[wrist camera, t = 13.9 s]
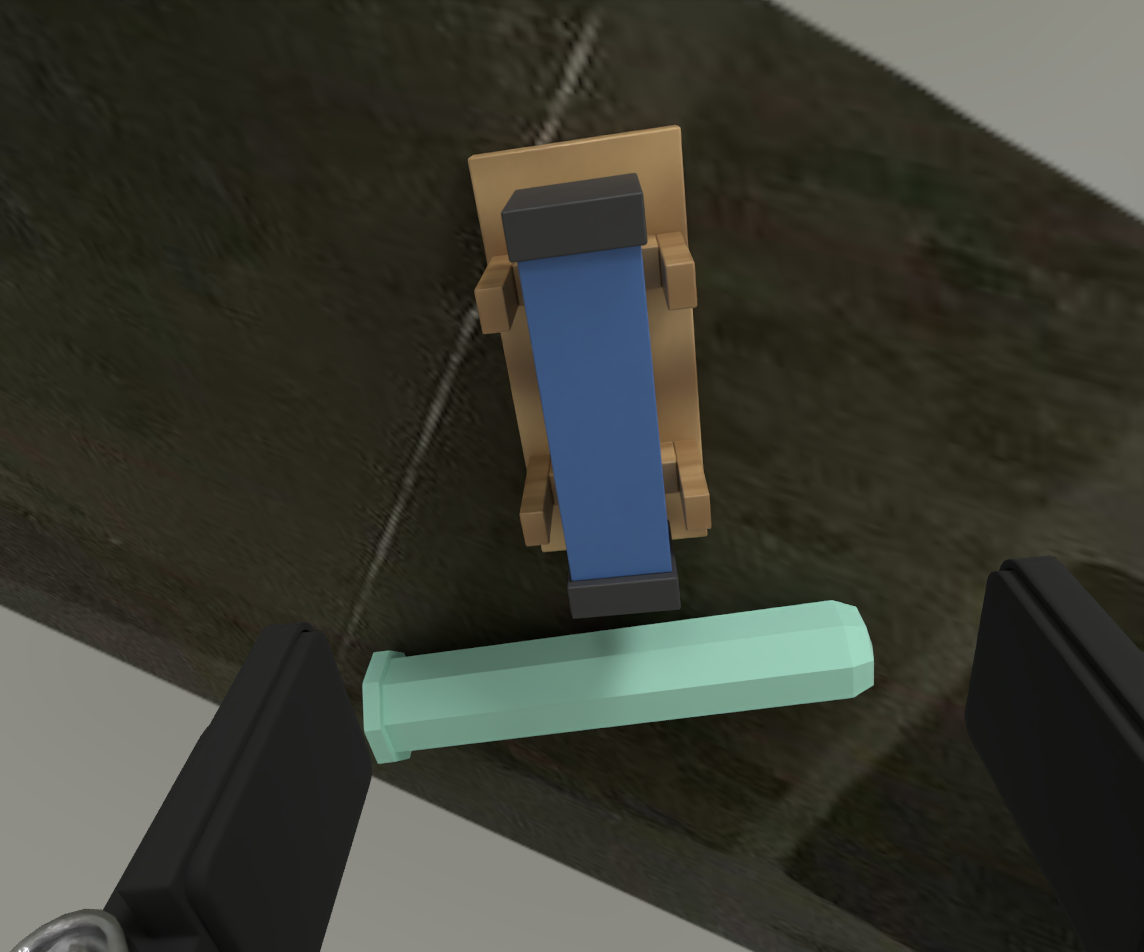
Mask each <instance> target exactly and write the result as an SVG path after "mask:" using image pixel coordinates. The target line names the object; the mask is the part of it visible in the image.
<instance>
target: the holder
mask: <svg viewBox="0 0 1144 952" xmlns="http://www.w3.org/2000/svg"><path fill="white" fill-rule="evenodd" d="M468 165H469V170H470V176H471V181H472V186H473V191H474V197H475V202H476V207H477V212H478V218H479V223H480V228H481V233H482V239H483V244H484V249H485V254H486V260H487V265H488V266H487V268H486V270H485V271H484V273H483V275H482V277H481V279H480V281H479V283H478V284H477V286H476V288H475V290H474V293H475V298H476V303H477V308H478V313H479V318H480V323H481V328H482V333H483V334H492V333H501V338H502V344H503V349H504V354H505V359H506V365H507V370H508V375H509V380H510V386H511V391H512V396H513V401H514V407H515V412H516V417H517V422H518V428H519V433H520V438H521V443H522V449H523V454H524V459H525V464H526V470H527V475H526V480H525V486H524V492H523V497H522V503H521V509H520V514H519V515H520V520H521V525H522V530H523V535H524V540H525V545H526V546H537V545H541V548H542V551H543V552H550V551H560V550H566V544H565V538H564V532H563V526H562V521H561V515H560V509H559V503H558V497H557V492H556V486H555V480H554V474H553V468H552V462H551V457H550V451H549V445H548V439H547V433H546V427H545V422H544V416H543V410H542V404H541V398H540V392H539V387H538V381H537V375H536V369H535V363H534V357H533V352H532V346H531V340H530V334H529V328H528V323H527V317H526V311H525V305H524V299H523V293H522V288H521V282H520V276H519V270H518V264H517V262H515V263H511V262H510V261H509V258H508V252H507V247H506V241H505V235H504V230H503V224H502V218H501V212H502V210H503V208H504V207H505V205H506V204H507V202H508V200H509V199H510V197H511V196H512V194H513V193H514V191H515V190H518V189H525V188H532V187H539V186H546V185H553V184H560V183H567V182H574V181H580V180H587V179H594V178H601V177H608V176H615V175H622V174H629V173H637V175H638V178H639V181H640V185H641V188H642V191H643V195H644V206H645V218H646V229H647V240H648V242H647V244H646V245H642V246H641V248H642V259H643V269H644V280H645V291H646V301H647V312H648V322H649V333H650V343H651V354H652V365H653V375H654V386H655V396H656V407H657V418H658V428H659V439H660V449H661V460H662V470H663V481H664V492H665V502H666V513H667V519H668V520H669V521H670V527H671V534H672V540H673V539H683V538H693V537H704V536H707V529H710V528H711V513H710V497H709V491H708V487H707V483H706V479H705V475H704V471H703V460H702V445H701V430H700V415H699V399H698V384H697V369H696V354H695V339H694V324H693V309H692V308H695V307H697V291H696V275H695V263H694V260H693V258H692V256H691V254H690V252H689V248H688V233H687V218H686V203H685V188H684V173H683V158H682V143H681V129H680V127H679V126H678V125H671V126H665V127H658V128H651V129H644V130H638V131H631V132H624V133H618V134H611V135H604V136H598V137H591V138H584V139H577V140H571V141H564V142H557V143H551V144H544V145H537V146H530V147H524V148H517V149H510V150H504V151H497V152H490V153H483V154H477V155H472V156H471V157H469V158H468Z"/></svg>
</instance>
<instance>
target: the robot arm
mask: <svg viewBox="0 0 1144 952" xmlns="http://www.w3.org/2000/svg"><path fill="white" fill-rule="evenodd" d="M965 721H966V726H967V730H968V734H969V736H970V738H971V741H972V743H973V744H974V746H975V748H976V750H977V752H978V754H979V755H980V757H981V759H982V761H983V763H984V765H985V767H986V768H987V770H988V772H989V774H990V776H991V778H992V779H993V781H994V783H995V785H996V787H997V789H998V791H999V792H1000V794H1001V796H1002V798H1003V800H1004V802H1005V804H1006V805H1007V807H1008V809H1009V811H1010V813H1011V815H1012V816H1013V818H1014V820H1015V822H1016V824H1017V826H1018V828H1019V829H1020V831H1021V833H1022V835H1023V837H1024V839H1025V840H1026V842H1027V844H1028V846H1029V848H1030V850H1031V852H1032V853H1033V855H1034V857H1035V859H1036V861H1037V863H1038V864H1039V866H1040V868H1041V870H1042V872H1043V874H1044V876H1045V877H1046V879H1047V881H1048V883H1049V885H1050V887H1051V888H1052V890H1053V892H1054V894H1055V896H1056V898H1057V900H1058V901H1059V903H1060V905H1061V907H1062V909H1063V911H1064V912H1065V914H1066V916H1067V918H1068V920H1069V922H1070V924H1071V925H1072V927H1073V929H1074V931H1075V933H1076V935H1077V937H1078V938H1079V940H1080V942H1081V944H1082V946H1083V948H1084V949H1085V951H1086V952H1144V653H1143V652H1141V651H1140V650H1139V649H1138V648H1137V646H1136V645H1135V644H1134V643H1133V642H1132V641H1131V640H1130V639H1129V638H1128V636H1127V635H1126V634H1125V633H1124V632H1123V631H1122V630H1121V629H1120V628H1119V626H1118V625H1117V624H1116V623H1115V622H1114V621H1113V620H1112V619H1111V618H1110V616H1109V615H1108V614H1107V613H1106V612H1105V611H1104V610H1103V609H1102V607H1101V606H1100V605H1099V604H1098V603H1097V602H1096V601H1095V600H1094V599H1093V597H1092V596H1091V595H1090V594H1089V593H1088V592H1087V591H1086V590H1085V589H1084V587H1083V586H1082V585H1081V584H1080V583H1079V582H1078V581H1077V580H1076V578H1075V577H1074V576H1073V575H1072V574H1071V573H1070V572H1069V571H1068V570H1067V568H1066V567H1065V566H1064V565H1063V564H1062V563H1061V562H1060V561H1059V560H1058V559H1056V558H1055V557H1052V556H1042V557H1031V558H1020V559H1009V560H1006V561H1004V562H1003V563H1002V565H1001V567H1000V570H999V571H995V572H991V573H990V575H989V576H988V580H987V585H986V591H985V597H984V603H983V609H982V615H981V620H980V626H979V632H978V638H977V644H976V650H975V656H974V662H973V668H972V674H971V680H970V686H969V692H968V697H967V703H966V709H965ZM371 776H372V761H371V756H370V753H369V750H368V748H367V745H366V742H365V740H364V737H363V734H362V732H361V729H360V726H359V724H358V721H357V718H356V716H355V713H354V710H353V708H352V705H351V702H350V700H349V697H348V694H347V692H346V689H345V686H344V684H343V681H342V678H341V676H340V673H339V670H338V668H337V665H336V662H335V660H334V657H333V654H332V652H331V649H330V646H329V644H328V641H327V638H326V636H325V634H324V633H323V632H322V631H314V629H313V627H312V626H311V625H310V624H309V623H306V622H300V623H289V624H278V625H269V626H267V627H265V628H264V629H263V631H262V632H261V634H260V635H259V637H258V639H257V641H256V643H255V644H254V646H253V648H252V650H251V651H250V653H249V655H248V657H247V659H246V660H245V662H244V664H243V666H242V668H241V669H240V671H239V673H238V675H237V677H236V678H235V680H234V682H233V684H232V686H231V687H230V689H229V691H228V693H227V695H226V696H225V698H224V700H223V702H222V704H221V705H220V707H219V709H218V711H217V712H216V714H215V716H214V718H213V720H212V721H211V723H210V725H209V726H208V727H207V728H206V730H205V731H204V732H203V734H202V735H201V736H200V738H199V740H198V742H197V743H196V745H195V747H194V749H193V751H192V752H191V754H190V756H189V758H188V759H187V761H186V763H185V765H184V767H183V768H182V770H181V772H180V774H179V775H178V777H177V779H176V781H175V783H174V784H173V786H172V788H171V790H170V792H169V793H168V795H167V797H166V799H165V801H164V802H163V804H162V806H161V808H160V809H159V811H158V813H157V815H156V816H155V818H154V820H153V822H152V824H151V825H150V827H149V829H148V831H147V833H146V834H145V836H144V838H143V840H142V842H141V843H140V845H139V847H138V849H137V850H136V852H135V854H134V856H133V857H132V859H131V861H130V863H129V865H128V867H127V868H126V870H125V872H124V874H123V875H122V877H121V879H120V881H119V882H118V884H117V886H116V888H115V889H114V891H113V893H112V895H111V897H110V898H109V900H108V902H107V904H106V906H105V907H104V909H103V910H99V909H83V910H79V911H75V912H71V913H68V914H64V915H62V916H60V917H58V918H56V919H54V920H52V921H50V922H48V923H46V924H44V925H42V926H41V927H39V928H38V929H36V930H35V931H34V932H32V933H31V934H30V935H28V936H27V937H26V938H24V939H23V940H22V941H20V942H19V943H18V944H17V945H16V946H15V947H14V948H13V949H12V950H11V951H10V952H320V950H321V946H322V942H323V939H324V936H325V933H326V929H327V926H328V923H329V919H330V916H331V912H332V909H333V906H334V903H335V899H336V896H337V892H338V889H339V885H340V882H341V879H342V876H343V872H344V869H345V866H346V862H347V859H348V856H349V852H350V849H351V846H352V842H353V839H354V835H355V832H356V829H357V825H358V822H359V819H360V815H361V812H362V809H363V805H364V802H365V799H366V795H367V792H368V788H369V785H370V781H371Z"/></svg>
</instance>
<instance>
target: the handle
mask: <svg viewBox="0 0 1144 952" xmlns="http://www.w3.org/2000/svg"><path fill="white" fill-rule="evenodd" d="M501 218H502V224H503V230H504V235H505V241H506V247H507V252H508V258H509V261H510V262H511V263H515V262H517V264H518V270H519V276H520V282H521V288H522V293H523V299H524V305H525V311H526V317H527V323H528V328H529V334H530V340H531V346H532V352H533V357H534V363H535V369H536V375H537V381H538V387H539V392H540V398H541V404H542V410H543V416H544V422H545V427H546V433H547V439H548V445H549V451H550V457H551V462H552V468H553V474H554V480H555V486H556V492H557V497H558V503H559V509H560V515H561V521H562V526H563V532H564V538H565V544H566V550H567V556H568V561H569V563H568V579H567V592H568V598H569V604H570V609H571V615H572V618H573V619H577V618H588V617H600V616H611V615H622V614H633V613H645V612H656V611H667V610H679V609H680V607H681V605H680V594H679V583H678V574H677V568H676V561H675V554H674V547H673V541H672V534H671V527H670V521H669V520H668V519H667V513H666V502H665V492H664V481H663V470H662V460H661V449H660V439H659V428H658V418H657V407H656V396H655V386H654V375H653V365H652V354H651V343H650V333H649V322H648V312H647V301H646V291H645V280H644V269H643V259H642V248H641V246H642V245H646V244H647V242H648V240H647V229H646V218H645V206H644V195H643V191H642V188H641V185H640V181H639V178H638V175H637V173H629V174H622V175H615V176H608V177H601V178H594V179H587V180H580V181H574V182H567V183H560V184H553V185H546V186H539V187H532V188H525V189H518V190H515V191H514V193H513V194H512V196H511V197H510V199H509V200H508V202H507V204H506V205H505V207H504V208H503V210H502V212H501Z"/></svg>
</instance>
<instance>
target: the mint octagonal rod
mask: <svg viewBox="0 0 1144 952" xmlns="http://www.w3.org/2000/svg"><path fill="white" fill-rule="evenodd" d="M873 685H874V658H873V648H872V643H871V640H870V637H869V634H868V631H867V628H866V626H865V624H864V622H863V620H862V618H861V616H860V614H859V612H858V610H857V608H856V607H855V606H851V605H848V604H844V603H841V602H837V601H833V600H830V601H822V602H815V603H807V604H800V605H792V606H785V607H777V608H770V609H762V610H755V611H747V612H740V613H732V614H725V615H717V616H710V617H702V618H695V619H687V620H680V621H672V622H665V623H657V624H650V625H642V626H635V627H627V628H619V629H612V630H604V631H597V632H589V633H582V634H574V635H567V636H559V637H552V638H544V639H537V640H529V641H522V642H514V643H507V644H499V645H492V646H484V647H477V648H469V649H462V650H454V651H447V652H439V653H432V654H424V655H416V656H409V657H406V656H405V654H404V653H402V652H396V651H381V652H374V653H373V655H372V658H371V661H370V664H369V667H368V669H367V672H366V675H365V678H364V681H363V683H362V686H363V713H364V732H365V735H366V737H367V739H368V742H369V744H370V746H371V749H372V751H373V753H374V756H375V758H376V760H377V762H378V764H381V763H389V762H396V761H400V760H405V759H409V758H410V755H411V751H413V750H421V749H430V748H438V747H446V746H455V745H463V744H471V743H480V742H488V741H496V740H505V739H513V738H521V737H529V736H538V735H546V734H554V733H563V732H571V731H579V730H588V729H596V728H604V727H613V726H621V725H629V724H638V723H646V722H654V721H662V720H671V719H679V718H687V717H696V716H704V715H712V714H721V713H729V712H737V711H746V710H754V709H762V708H771V707H779V706H787V705H795V704H804V703H812V702H820V701H829V700H837V699H845V698H853V697H855V696H857V695H858V694H860V693H861V692H863V691H865V690H866V689H868V688H870V687H871V686H873Z"/></svg>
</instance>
